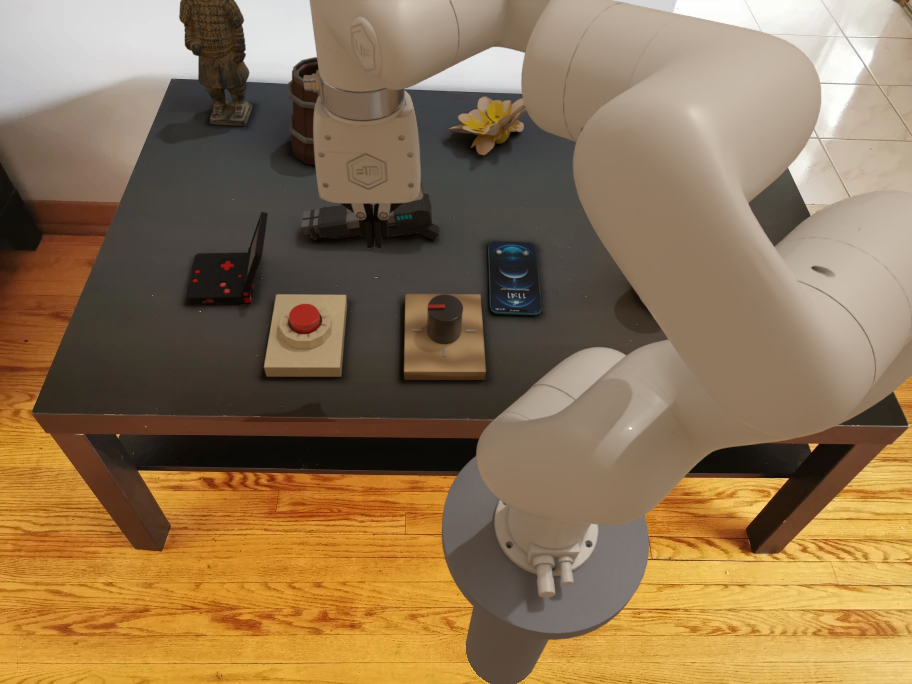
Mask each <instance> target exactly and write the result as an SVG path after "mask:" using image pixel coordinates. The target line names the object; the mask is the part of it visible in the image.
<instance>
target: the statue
mask: <svg viewBox="0 0 912 684" xmlns="http://www.w3.org/2000/svg"><path fill="white" fill-rule="evenodd" d="M178 19H179V21H180V22H181V23H182V24H183V27H184V47H185V48H186V49H187V50H188V51H190V52H191V53H192V55H193V56H196V57H197V58H198V61H197V62H198V65H197V66H198V67H197V68H198V69H197V70H198V74H197V75H198V76H197V80H198V82H199V84H200V85H201V86H204V88H205V90H206V92H207V93H208V95H209V97H210V99H211V101H212V103H213V106H212V112H211V114H210V117H209V120H208V121H209V124H211V125H218V126H219V125H221V126H238V127H246V126H247V123H248V121H249V118H250V117H251V116H250V115H251V112H252V110H253V103H252V101H250V100H246V99H247V98H246V93H247V92H246V91H247V87H248V86H247V85H248V83H247V82H248V78H249V77H250V70H249V68H248V66H247V65H246V63H245V61H244V60H245V59H246V57H247V53H246V52H245V51H246V50H247V49H246V48H247V47H246V46H247V45H246V37H245V31H244V27H243V24H244V23H245V18H244V15H243V13H242V11H241V8H240V6H239V5H238V3H237V2H236V1H235V0H180V2H179V15H178ZM225 90H227V91H228V92H229V95H230V97H231V99H226V93H225Z"/></svg>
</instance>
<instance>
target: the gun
mask: <svg viewBox="0 0 912 684" xmlns="http://www.w3.org/2000/svg"><path fill="white" fill-rule="evenodd" d="M371 205H373V215H374V205H375V203H371ZM432 211H433V210H432V202H431V198H430V195H429V193H424V192H423V198H422V199H421V200H417V201H412V202H407V203H402V204H401V205H400V206H399V207H398V208H396V209H395V210H394V211H393V212H391V213H390V214H389V218H388V237H387V238H390V237H397V236H404V237H408V236H409V235H410V234H420V235H422V236H424V237H426V238H428V239H430V240H432V241H435V239H437V237H438V236H439V235H440V231H439V225H437V224H435V223H433V212H432ZM300 228H301V230H302V232H303V235H310V238H311V239H312V240H315V241H317V240H318V239H321V238H322V239H326V238H327V239H333V240H338V239H346V238H353V237H356V236H360V228H359V220H358V219H356V218H355V215H354V213H353V212H351V211H350V210H349V209H347V208H346V207H344V206H343V205H342V204H339V205H332V206H325V207H320V208H317V209H311V210H304V211H303V212H302V220H301V227H300Z"/></svg>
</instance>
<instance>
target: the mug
mask: <svg viewBox="0 0 912 684" xmlns="http://www.w3.org/2000/svg"><path fill="white" fill-rule="evenodd" d="M317 70H319V68H318V61H317V56H313V57H309V58H305V59H301V60H300V61H299V62H297V63H296V64H295V65H294V66H293V67H292V70H291V80H290V81H289V82H288V83H287V93H288V94H287V95H288V99H289V100H290V101H292V114H291V115H289V117H288V123H289V124H288V125H289V133H290V146H291V153H292V155H293V156H294V157H296V158H297V159H298V160H300V161H301V162H303V163H304V164H305V165H310V166H315V155H314V139H313V119H314V108H315V104H316V101H317V98H318V93H313V91H305V90H304V82H303V78H304V75H312V74H316V71H317Z"/></svg>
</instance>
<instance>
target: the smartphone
mask: <svg viewBox="0 0 912 684" xmlns="http://www.w3.org/2000/svg"><path fill="white" fill-rule="evenodd" d="M487 252H488V253H487V255H488V285H489V309H490V311H491V312H492V313H493V314H496V315H512V316H513V315H516V316H517V315H519V316H520V315H521V316H538V315H540V314H541V312H542V296H541V288H540V277H539V266H538V255H537V247H536V245H535V244H534V243H531V242H523V241H522V242H520V241H519V242H518V241H494V240H493V241H491V242H489V243H488V246H487Z"/></svg>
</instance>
